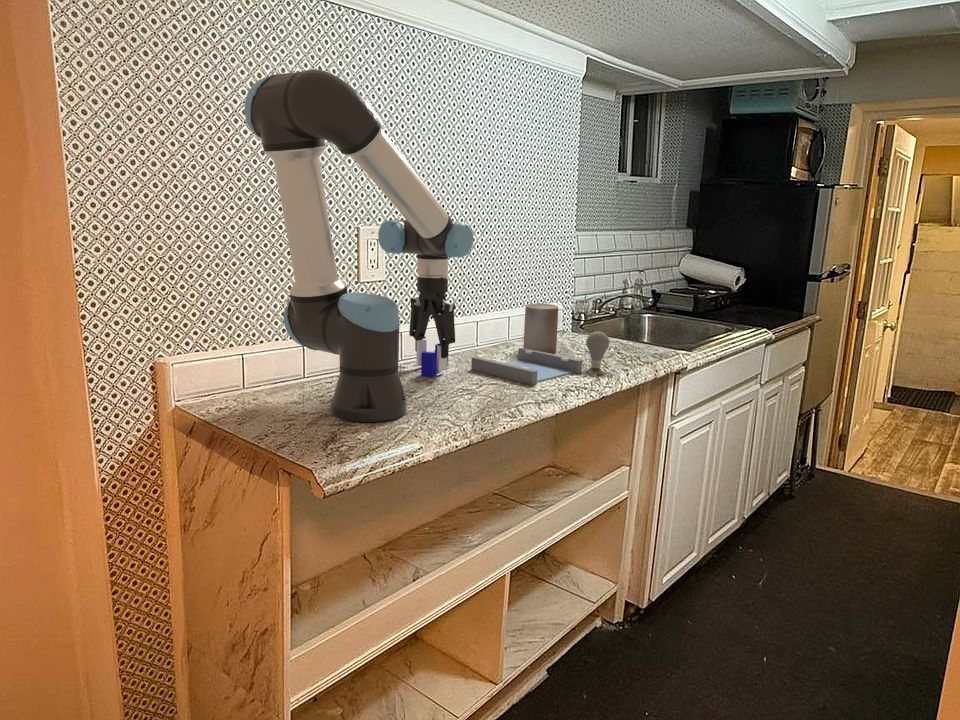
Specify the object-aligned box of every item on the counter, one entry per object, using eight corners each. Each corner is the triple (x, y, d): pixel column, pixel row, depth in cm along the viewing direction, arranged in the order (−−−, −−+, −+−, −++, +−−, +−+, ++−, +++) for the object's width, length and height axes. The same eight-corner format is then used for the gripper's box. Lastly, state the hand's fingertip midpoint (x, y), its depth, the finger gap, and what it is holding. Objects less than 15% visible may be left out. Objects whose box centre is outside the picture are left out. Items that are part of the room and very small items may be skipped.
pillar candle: (551, 348, 206) (554, 299, 203) (559, 355, 197) (562, 303, 194) (519, 348, 205) (522, 298, 202) (526, 355, 196) (529, 303, 192)
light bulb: (589, 371, 179) (591, 333, 177) (581, 365, 185) (583, 329, 182) (610, 370, 180) (613, 333, 178) (602, 365, 186) (605, 329, 184)
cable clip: (431, 365, 179) (431, 343, 177) (447, 367, 178) (448, 344, 176) (415, 375, 167) (415, 351, 166) (432, 377, 166) (433, 353, 165)
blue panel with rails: (532, 384, 163) (532, 371, 162) (471, 369, 176) (471, 357, 175) (581, 372, 177) (582, 360, 177) (522, 358, 191) (522, 347, 190)
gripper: (472, 278, 163) (470, 372, 168) (416, 272, 176) (416, 359, 181) (450, 280, 158) (448, 377, 163) (394, 273, 171) (394, 363, 176)
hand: (431, 367), depth 172 cm, fingers open, 7 cm apart
